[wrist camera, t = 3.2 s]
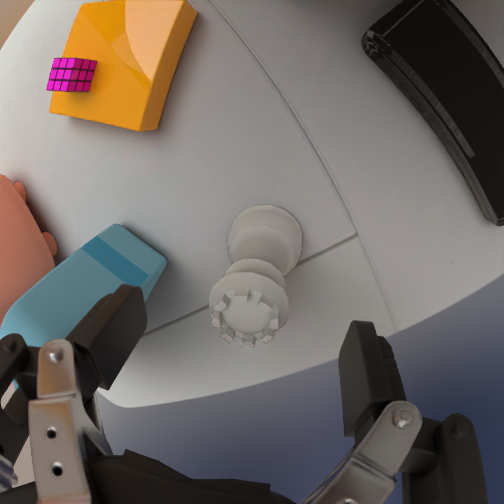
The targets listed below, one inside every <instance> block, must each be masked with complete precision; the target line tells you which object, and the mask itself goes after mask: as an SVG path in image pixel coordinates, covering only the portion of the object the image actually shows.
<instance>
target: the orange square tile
mask: <svg viewBox="0 0 504 504" xmlns="http://www.w3.org/2000/svg"><path fill="white" fill-rule="evenodd" d="M197 14H198V12H197V11H196V10H195V9H194V8H193V7H192V6H191V5H190V4H189V3H188V2H187V1H186V0H110V1H101V2H93V3H86V4H82V5H81V7H80V9H79V11H78V14H77V16H76V19H75V21H74V24H73V26H72V29H71V32H70V35H69V37H68V40H67V43H66V46H65V49H64V53H63V56H62V58H54V61H53V65H52V69H51V73H50V76H49V79H50V80H49V81H48V85H47V89H46V90H49V91H53V95H52V100H51V105H50V110H49V112H50V113H53V114H59V115H65V116H70V117H75V118H81V119H86V120H90V121H95V122H100V123H104V124H109V125H113V126H117V127H122V128H126V129H130V130H134V131H138V132H141V131H148V130H156V129H157V128H158V125H159V121H160V117H161V114H162V110H163V107H164V104H165V100H166V97H167V94H168V91H169V88H170V84H171V81H172V78H173V75H174V73H175V70H176V67H177V64H178V61H179V58H180V56H181V53H182V50H183V48H184V45H185V43H186V40H187V38H188V35H189V33H190V30H191V28H192V25H193V23H194V21H195V18H196V16H197Z"/></svg>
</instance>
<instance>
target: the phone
mask: <svg viewBox="0 0 504 504" xmlns="http://www.w3.org/2000/svg"><path fill="white" fill-rule="evenodd" d="M362 45H363V48H364V50H365V52H366V54H367V55H368V56H369V57H370V58H371V59H372V60H373V61H374V62H375V63H376V64H377V65H378V66H379V67H380V68H381V69H382V70H383V71H384V72H385V73H386V74H387V75H388V76H389V77H390V78H391V79H392V80H393V81H394V83H395V84H396V85H397V86H398V87H399V88H400V89H401V90H402V91H403V93H404V94H405V95H406V96H407V97H408V98H409V99H410V101H411V102H412V103H413V104H414V105H415V107H416V108H417V109H418V110H419V112H420V113H421V114H422V115H423V117H424V118H425V119H426V121H427V122H428V123H429V124H430V126H431V127H432V129H433V130H434V131H435V133H436V134H437V135H438V137H439V138H440V140H441V141H442V143H443V144H444V145H445V147H446V148H447V150H448V151H449V153H450V154H451V156H452V158H453V159H454V161H455V162H456V164H457V166H458V167H459V169H460V170H461V172H462V174H463V175H464V177H465V179H466V181H467V182H468V184H469V186H470V188H471V190H472V191H473V193H474V195H475V197H476V199H477V201H478V203H479V205H480V207H481V209H482V211H483V213H484V215H485V217H486V218H487V219H488V220H490V221H491V222H493V223H494V224H495V225H497V226H503V225H504V68H503V67H502V65H501V64H500V62H499V61H498V59H497V58H496V56H495V55H494V53H493V52H492V50H491V49H490V48H489V46H488V45H487V43H486V42H485V41H484V39H483V38H482V37H481V36H480V34H479V33H478V32H477V30H476V29H475V28H474V27H473V25H472V24H471V23H470V22H469V21H468V20H467V18H466V17H465V16H464V15H463V14H462V13H461V12H460V10H459V9H458V8H457V7H456V6H455V5H454V4H453V3H452V2H451V1H450V0H404V1H402V2H401V3H400V4H399V5H397V6H396V7H395V8H393V9H392V10H391V11H389V12H388V13H387V14H386V15H384V16H383V17H382V18H381V19H379V20H378V21H377V22H376V23H375V24H373V25H372V26H371V27H370V28H369V29H368V31H367V32H366V33H365V34H364V36H363V39H362Z"/></svg>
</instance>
